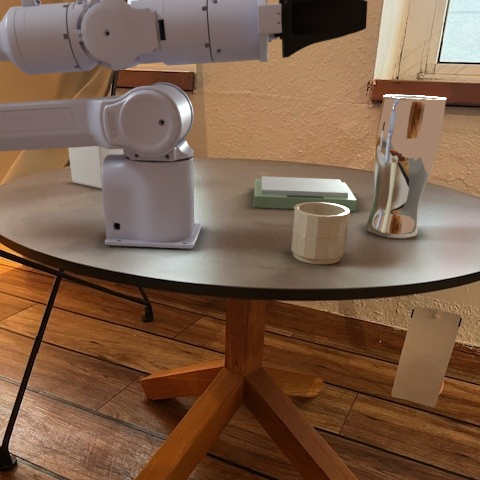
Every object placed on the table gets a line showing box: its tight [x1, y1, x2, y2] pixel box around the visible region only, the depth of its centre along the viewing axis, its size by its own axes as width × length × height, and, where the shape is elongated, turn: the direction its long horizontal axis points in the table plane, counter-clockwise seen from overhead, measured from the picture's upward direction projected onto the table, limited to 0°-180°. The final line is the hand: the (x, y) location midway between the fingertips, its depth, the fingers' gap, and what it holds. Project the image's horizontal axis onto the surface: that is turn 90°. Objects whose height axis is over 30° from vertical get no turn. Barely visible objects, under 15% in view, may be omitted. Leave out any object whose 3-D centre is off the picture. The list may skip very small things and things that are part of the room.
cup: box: [290, 202, 351, 265], centre depth 51 cm, size 6×6×5 cm
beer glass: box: [365, 94, 447, 240], centre depth 58 cm, size 7×7×15 cm
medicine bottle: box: [67, 146, 124, 190], centre depth 77 cm, size 7×7×12 cm
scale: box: [253, 175, 358, 212], centre depth 73 cm, size 14×11×2 cm
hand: (358, 18), depth 46 cm, fingers open, 7 cm apart
